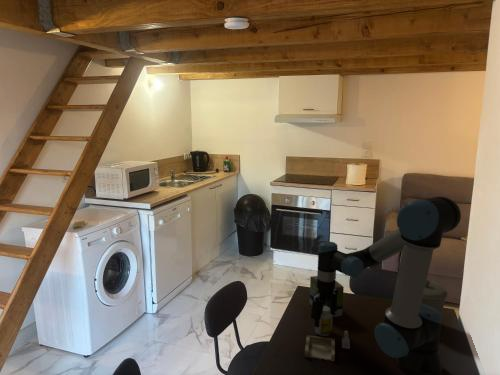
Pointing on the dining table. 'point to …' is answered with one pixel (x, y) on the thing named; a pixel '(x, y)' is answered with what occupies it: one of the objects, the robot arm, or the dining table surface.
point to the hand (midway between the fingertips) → (323, 330)
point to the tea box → (314, 292)
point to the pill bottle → (326, 321)
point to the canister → (434, 296)
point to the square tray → (320, 348)
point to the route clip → (346, 341)
